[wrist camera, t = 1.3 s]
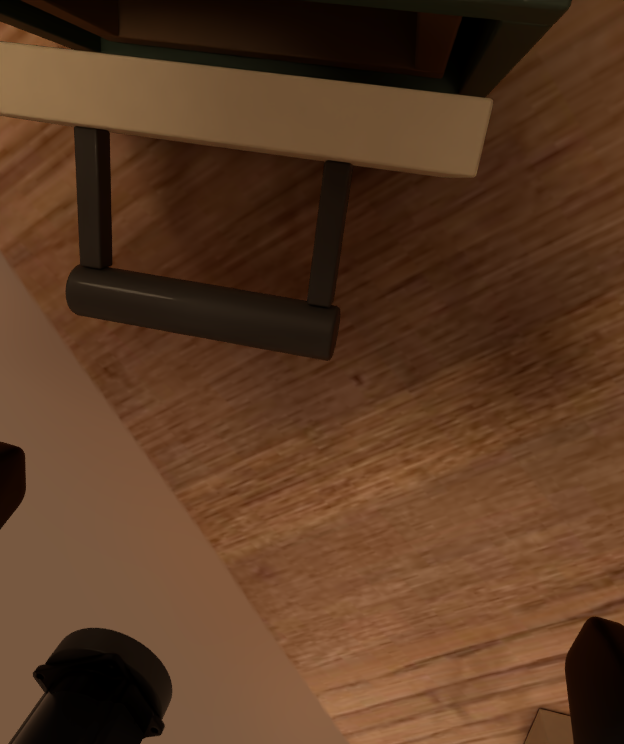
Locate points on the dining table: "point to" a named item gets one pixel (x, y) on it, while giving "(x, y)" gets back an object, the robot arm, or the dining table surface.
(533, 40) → the cabinet
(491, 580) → the dining table surface
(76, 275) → the drawer
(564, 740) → the block
